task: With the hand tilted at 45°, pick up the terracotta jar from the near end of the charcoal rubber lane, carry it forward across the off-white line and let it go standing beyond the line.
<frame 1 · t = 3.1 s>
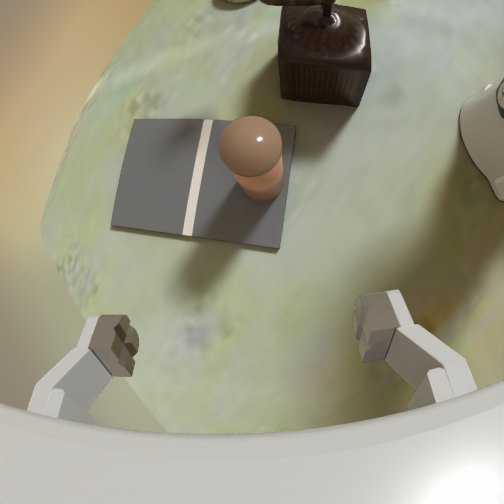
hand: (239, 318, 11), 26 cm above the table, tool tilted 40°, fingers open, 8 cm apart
terracotta jar: (262, 181, 37), point 1 cm above the table, touching throwing lane
manual coffee grinder: (302, 69, 38), on the table
throwing lane: (198, 175, 39), on the table
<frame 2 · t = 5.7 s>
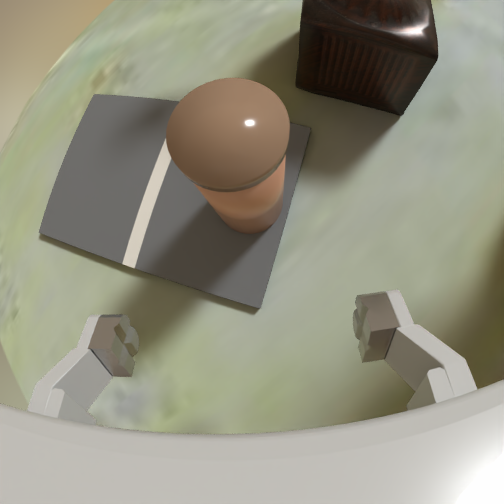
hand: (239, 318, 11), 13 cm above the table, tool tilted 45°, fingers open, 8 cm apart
terracotta jar: (249, 201, 24), point 1 cm above the table, touching throwing lane
manual coffee grinder: (329, 56, 26), on the table
throwing lane: (159, 180, 26), on the table
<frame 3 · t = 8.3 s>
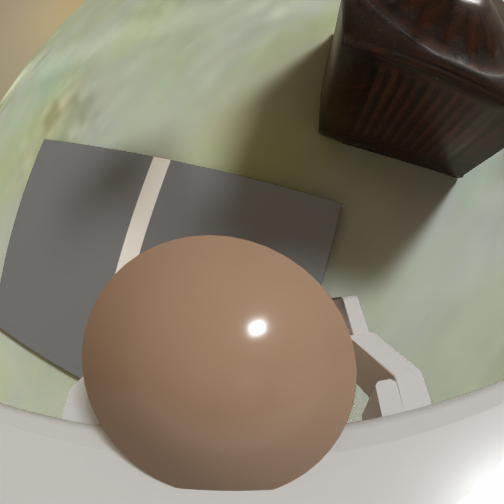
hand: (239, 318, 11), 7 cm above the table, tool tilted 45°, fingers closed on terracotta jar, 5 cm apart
terracotta jar: (253, 319, 17), point 1 cm above the table, touching gripper, throwing lane
manual coffee grinder: (363, 84, 19), on the table
throwing lane: (127, 277, 19), on the table
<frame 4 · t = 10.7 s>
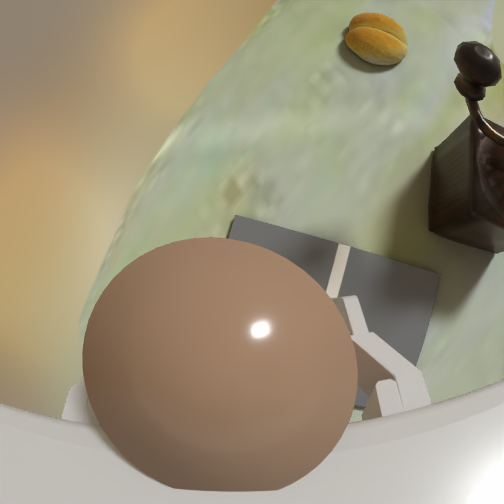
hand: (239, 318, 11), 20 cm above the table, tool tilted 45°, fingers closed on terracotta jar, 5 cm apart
bread roll: (374, 44, 34), on the table
terracotta jar: (253, 320, 17), point 14 cm above the table, touching gripper
manual coffee grinder: (449, 192, 30), on the table
throwing lane: (323, 320, 30), on the table
when the fingers open (8 cm above the table, at t = 13.3 s): terracotta jar drops 1 cm, resting on throwing lane.
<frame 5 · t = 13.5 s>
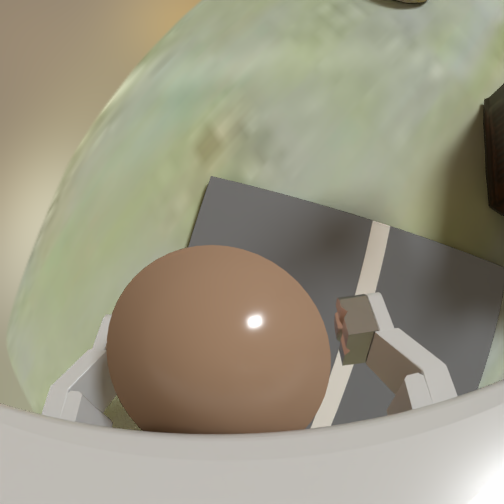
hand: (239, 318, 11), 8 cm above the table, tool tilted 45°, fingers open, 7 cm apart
terracotta jar: (255, 317, 19), point 1 cm above the table, touching throwing lane
throwing lane: (348, 341, 19), on the table
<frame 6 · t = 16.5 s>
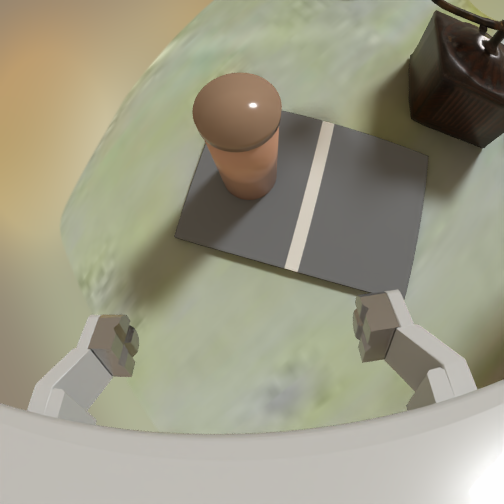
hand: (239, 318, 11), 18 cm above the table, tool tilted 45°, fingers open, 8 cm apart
terracotta jar: (249, 174, 29), point 1 cm above the table, touching throwing lane
manual coffee grinder: (428, 92, 30), on the table
throwing lane: (311, 192, 29), on the table
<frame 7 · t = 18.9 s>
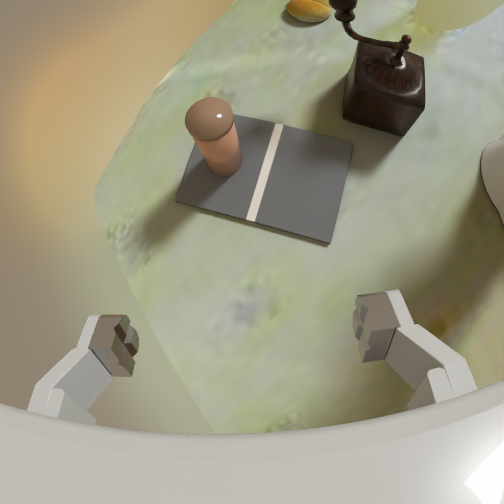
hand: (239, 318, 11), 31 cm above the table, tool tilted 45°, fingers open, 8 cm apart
bread roll: (309, 11, 48), on the table
terracotta jar: (224, 159, 44), point 1 cm above the table, touching throwing lane
manual coffee grinder: (360, 97, 44), on the table
throwing lane: (265, 170, 44), on the table
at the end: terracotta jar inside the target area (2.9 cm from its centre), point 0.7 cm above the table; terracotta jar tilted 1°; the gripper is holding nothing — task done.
